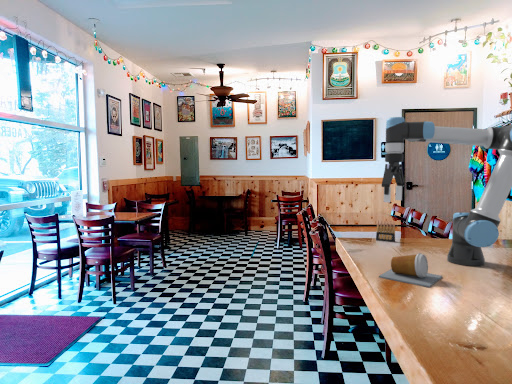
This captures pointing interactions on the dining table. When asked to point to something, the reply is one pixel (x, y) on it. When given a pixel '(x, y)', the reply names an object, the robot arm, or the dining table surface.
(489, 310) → the dining table surface
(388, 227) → the ammunition clip
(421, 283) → the mat
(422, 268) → the disposable coffee cup
